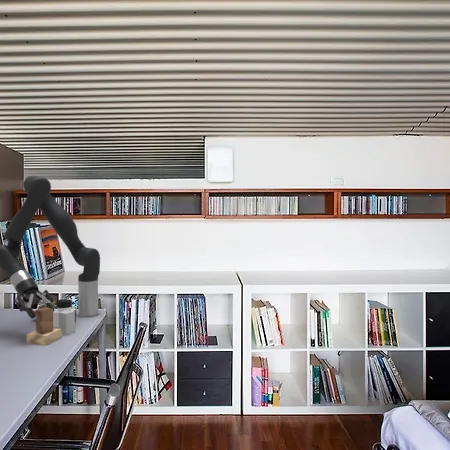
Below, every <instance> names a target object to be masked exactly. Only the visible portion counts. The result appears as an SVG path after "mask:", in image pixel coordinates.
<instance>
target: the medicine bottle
mask: <svg viewBox="0 0 450 450" xmlns="http://www.w3.org/2000/svg"><path fill="white" fill-rule="evenodd" d="M72 301H73V300H72V299H71V298H61V299H58V300H57V302H56V306H57V307H56V308H57V309H56V310H54V312H53V328H56V329H59V312H62V311H66V310H70V311H75V325H76V324H77V309H76V308H72V307H73V304H72V303H73V302H72Z"/></svg>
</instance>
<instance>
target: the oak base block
mask: <svg viewBox="0 0 450 450" xmlns="http://www.w3.org/2000/svg"><path fill="white" fill-rule="evenodd" d="M62 335H63V334H62V333H61V329H59V328H53V331H52V332H48V333H45V334H41V333H37V332H36V329H35V330H33V331H31V332H29V333H26V344H30V345H42V346H49V345H51V344H52V343H54V342H56V341H58V340H60V339H61V338H62Z"/></svg>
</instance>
